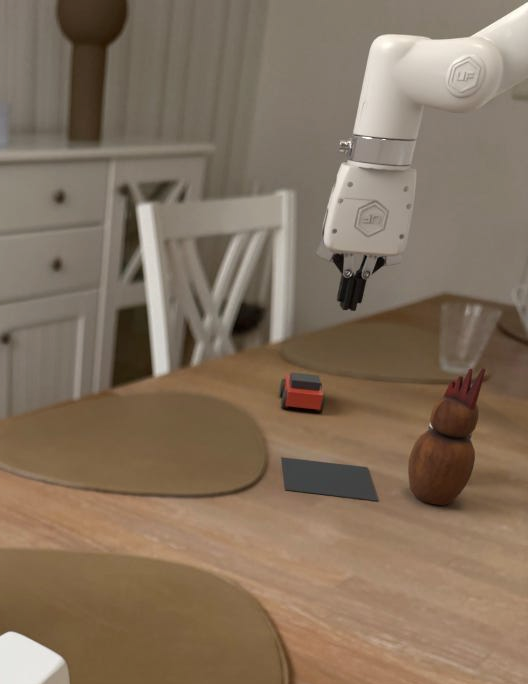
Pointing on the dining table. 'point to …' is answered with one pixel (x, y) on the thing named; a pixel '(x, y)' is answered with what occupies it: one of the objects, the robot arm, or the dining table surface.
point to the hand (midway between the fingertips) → (347, 307)
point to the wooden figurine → (446, 444)
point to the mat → (328, 479)
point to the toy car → (302, 392)
